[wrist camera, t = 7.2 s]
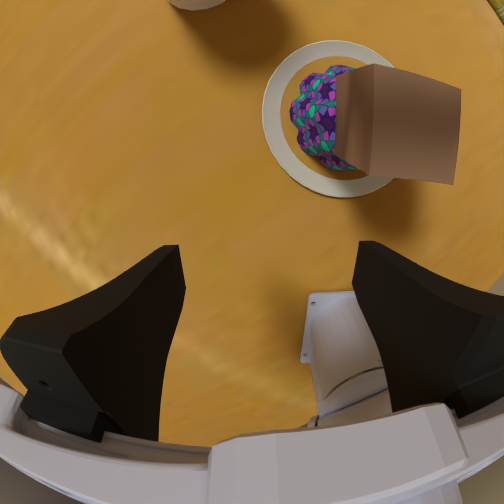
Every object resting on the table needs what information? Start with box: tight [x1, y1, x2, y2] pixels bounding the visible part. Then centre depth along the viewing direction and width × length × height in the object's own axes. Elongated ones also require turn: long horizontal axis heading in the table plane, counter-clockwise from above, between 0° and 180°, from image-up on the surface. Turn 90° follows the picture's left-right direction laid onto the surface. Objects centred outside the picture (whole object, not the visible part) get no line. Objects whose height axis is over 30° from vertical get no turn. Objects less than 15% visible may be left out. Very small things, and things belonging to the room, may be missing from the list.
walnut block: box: [334, 63, 461, 185], centre depth 11 cm, size 4×4×5 cm
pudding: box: [262, 40, 394, 197], centre depth 16 cm, size 12×12×5 cm
